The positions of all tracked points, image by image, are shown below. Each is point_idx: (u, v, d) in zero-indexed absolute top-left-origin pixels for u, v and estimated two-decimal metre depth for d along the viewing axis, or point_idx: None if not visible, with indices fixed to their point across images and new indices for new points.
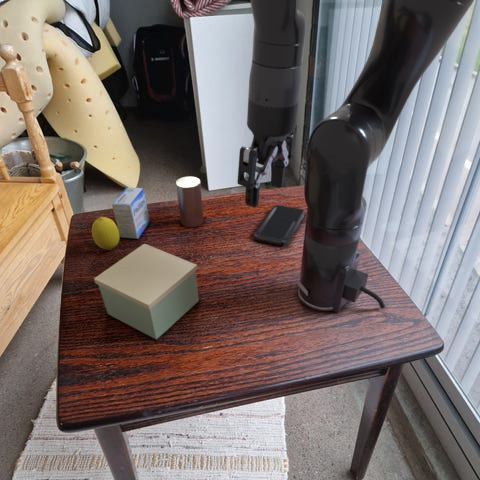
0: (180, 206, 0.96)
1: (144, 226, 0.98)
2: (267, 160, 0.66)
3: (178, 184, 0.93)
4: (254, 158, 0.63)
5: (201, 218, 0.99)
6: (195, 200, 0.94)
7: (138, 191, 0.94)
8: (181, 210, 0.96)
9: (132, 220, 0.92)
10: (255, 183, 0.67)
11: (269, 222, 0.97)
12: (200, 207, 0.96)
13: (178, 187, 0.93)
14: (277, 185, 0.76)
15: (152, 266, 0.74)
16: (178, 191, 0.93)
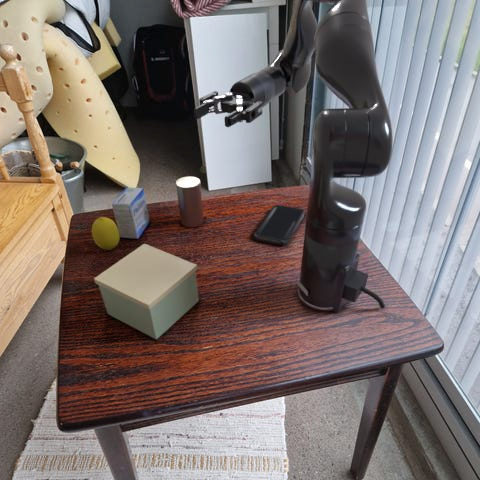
0: (180, 206, 0.96)
1: (144, 226, 0.98)
2: (221, 96, 0.95)
3: (178, 184, 0.93)
4: (213, 92, 0.98)
5: (201, 218, 0.99)
6: (195, 200, 0.94)
7: (138, 191, 0.94)
8: (181, 210, 0.96)
9: (132, 220, 0.92)
10: (205, 101, 0.95)
11: (269, 222, 0.97)
12: (200, 207, 0.96)
13: (178, 187, 0.93)
14: (225, 120, 0.89)
15: (152, 266, 0.74)
16: (178, 191, 0.93)
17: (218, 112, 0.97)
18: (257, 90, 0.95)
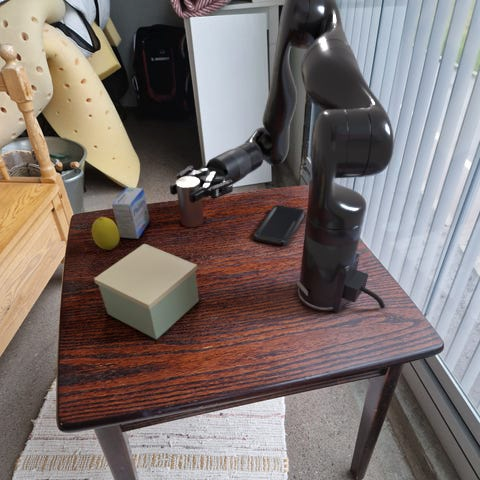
0: (180, 206, 0.96)
1: (144, 226, 0.98)
2: None
3: (178, 184, 0.93)
4: (188, 167, 1.01)
5: (201, 218, 0.99)
6: None
7: (138, 191, 0.94)
8: (181, 210, 0.96)
9: (132, 220, 0.92)
10: (181, 177, 0.97)
11: (269, 222, 0.97)
12: (200, 206, 0.96)
13: (178, 187, 0.93)
14: None
15: (152, 266, 0.74)
16: (178, 191, 0.93)
17: None
18: (232, 167, 0.99)
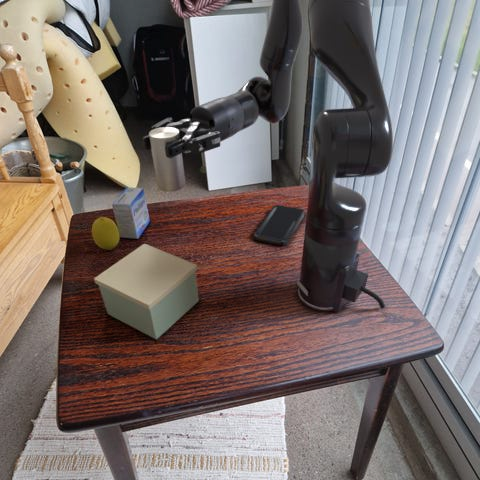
0: (155, 164, 0.77)
1: (144, 226, 0.98)
2: None
3: (151, 135, 0.74)
4: (167, 119, 0.82)
5: (182, 180, 0.80)
6: None
7: (138, 191, 0.94)
8: (156, 169, 0.78)
9: (132, 220, 0.92)
10: None
11: (269, 222, 0.97)
12: (179, 165, 0.78)
13: (151, 138, 0.74)
14: None
15: (152, 266, 0.74)
16: (152, 144, 0.75)
17: None
18: (219, 117, 0.80)
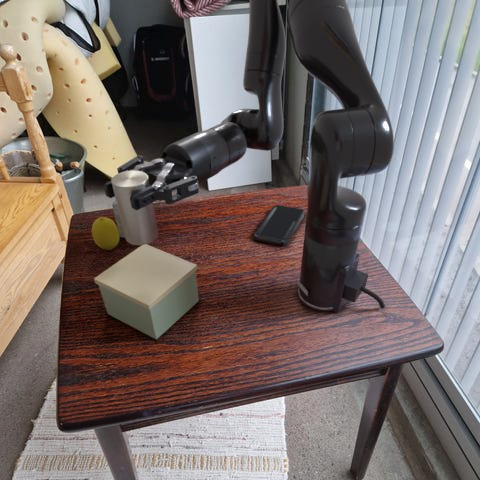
0: (120, 215, 0.65)
1: None
2: None
3: (114, 182, 0.62)
4: (137, 158, 0.69)
5: (153, 232, 0.67)
6: None
7: None
8: (122, 220, 0.65)
9: None
10: None
11: (269, 222, 0.97)
12: (150, 215, 0.65)
13: (114, 187, 0.61)
14: None
15: (152, 266, 0.74)
16: (115, 193, 0.62)
17: None
18: (198, 157, 0.67)
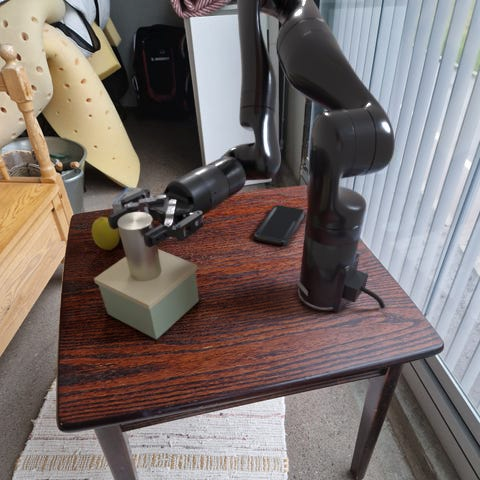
0: (126, 253, 0.68)
1: None
2: None
3: (120, 224, 0.65)
4: (143, 191, 0.73)
5: (157, 268, 0.71)
6: (145, 246, 0.66)
7: (138, 191, 0.94)
8: (127, 259, 0.69)
9: None
10: None
11: (269, 222, 0.97)
12: (153, 254, 0.69)
13: (120, 229, 0.65)
14: None
15: None
16: (121, 234, 0.66)
17: None
18: (199, 193, 0.70)
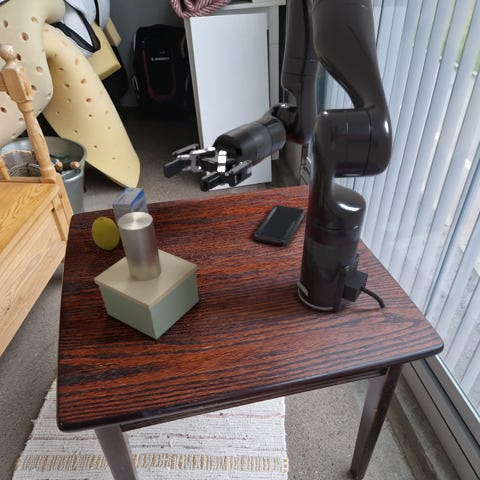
0: (126, 253, 0.68)
1: None
2: None
3: (120, 224, 0.65)
4: (192, 145, 0.77)
5: (157, 268, 0.71)
6: (145, 246, 0.66)
7: (138, 191, 0.94)
8: (127, 259, 0.69)
9: None
10: None
11: (269, 222, 0.97)
12: (153, 254, 0.69)
13: (120, 229, 0.65)
14: None
15: None
16: (121, 234, 0.66)
17: (196, 170, 0.76)
18: (247, 146, 0.75)
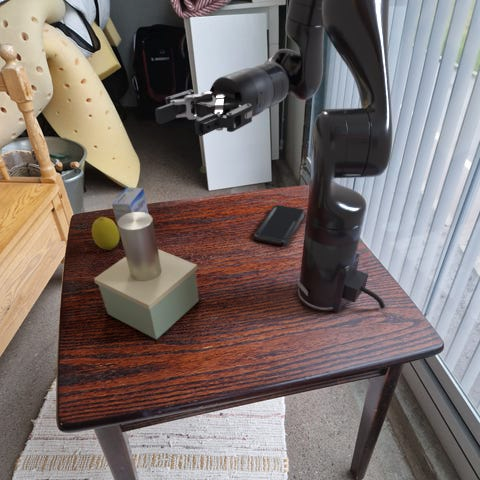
0: (126, 253, 0.68)
1: None
2: None
3: (120, 224, 0.65)
4: (187, 91, 0.71)
5: (157, 268, 0.71)
6: (145, 246, 0.66)
7: (138, 191, 0.94)
8: (127, 259, 0.69)
9: None
10: None
11: (269, 222, 0.97)
12: (153, 254, 0.69)
13: (120, 229, 0.65)
14: None
15: None
16: (121, 234, 0.66)
17: (191, 117, 0.70)
18: (247, 90, 0.69)
